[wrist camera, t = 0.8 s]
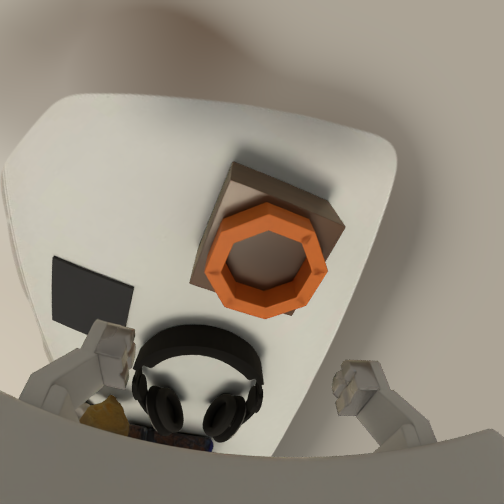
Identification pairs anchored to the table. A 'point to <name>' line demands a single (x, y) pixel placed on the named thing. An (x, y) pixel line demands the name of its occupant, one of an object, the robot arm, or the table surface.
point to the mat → (87, 297)
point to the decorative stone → (107, 417)
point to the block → (267, 243)
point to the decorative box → (171, 439)
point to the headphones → (206, 344)
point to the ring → (277, 297)
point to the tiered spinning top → (81, 409)
